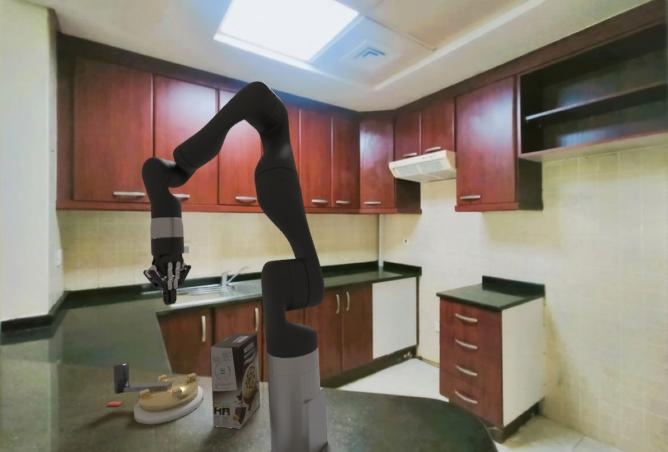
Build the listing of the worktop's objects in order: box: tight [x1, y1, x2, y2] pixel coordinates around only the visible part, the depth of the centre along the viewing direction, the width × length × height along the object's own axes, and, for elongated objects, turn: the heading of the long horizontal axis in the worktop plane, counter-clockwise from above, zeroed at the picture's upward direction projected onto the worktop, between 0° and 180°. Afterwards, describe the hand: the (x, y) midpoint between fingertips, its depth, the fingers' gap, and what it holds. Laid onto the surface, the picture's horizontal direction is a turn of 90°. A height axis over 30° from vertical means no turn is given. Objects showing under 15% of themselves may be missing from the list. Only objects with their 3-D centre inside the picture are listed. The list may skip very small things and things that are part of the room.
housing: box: [133, 385, 204, 425], centre depth 71 cm, size 14×14×2 cm
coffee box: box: [210, 332, 261, 429], centre depth 66 cm, size 9×6×16 cm
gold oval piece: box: [112, 360, 199, 412], centre depth 71 cm, size 18×12×8 cm, turn 90°
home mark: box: [106, 401, 124, 407], centre depth 73 cm, size 3×1×1 cm, turn 83°
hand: (170, 304), depth 79 cm, fingers closed
